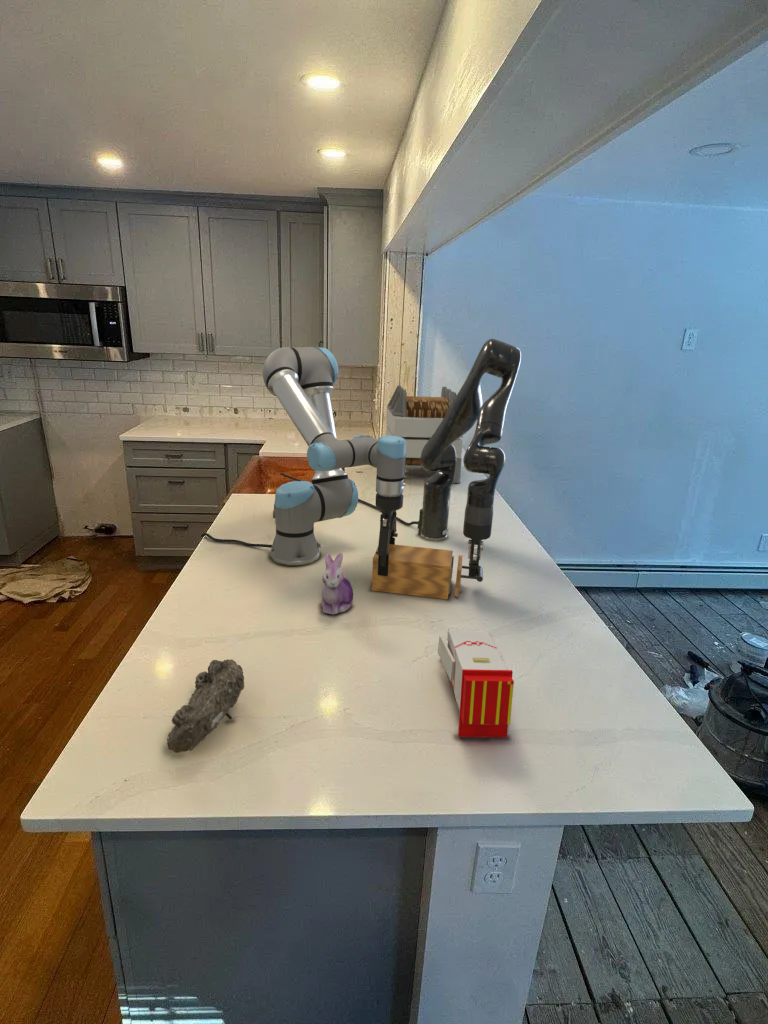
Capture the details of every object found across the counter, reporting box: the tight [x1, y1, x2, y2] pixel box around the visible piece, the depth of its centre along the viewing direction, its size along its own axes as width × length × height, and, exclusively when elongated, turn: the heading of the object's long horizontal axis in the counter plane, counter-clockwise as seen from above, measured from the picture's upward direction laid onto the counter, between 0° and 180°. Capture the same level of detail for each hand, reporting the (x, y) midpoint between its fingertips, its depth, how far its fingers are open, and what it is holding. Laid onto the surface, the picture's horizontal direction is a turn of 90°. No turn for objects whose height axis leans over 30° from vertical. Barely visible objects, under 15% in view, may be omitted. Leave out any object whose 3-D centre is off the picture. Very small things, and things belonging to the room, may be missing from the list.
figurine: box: [321, 552, 354, 615], centre depth 147 cm, size 9×10×15 cm
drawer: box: [449, 554, 484, 598], centre depth 160 cm, size 26×10×8 cm, turn 81°
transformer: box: [385, 384, 464, 484], centre depth 268 cm, size 34×33×41 cm
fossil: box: [166, 658, 245, 754], centre depth 106 cm, size 22×10×15 cm
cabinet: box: [371, 543, 454, 600], centre depth 161 cm, size 21×11×10 cm, turn 81°
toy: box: [437, 628, 515, 738], centre depth 117 cm, size 12×13×30 cm
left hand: (386, 566), depth 162 cm, fingers closed on cabinet, 11 cm apart
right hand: (472, 577), depth 159 cm, fingers closed
